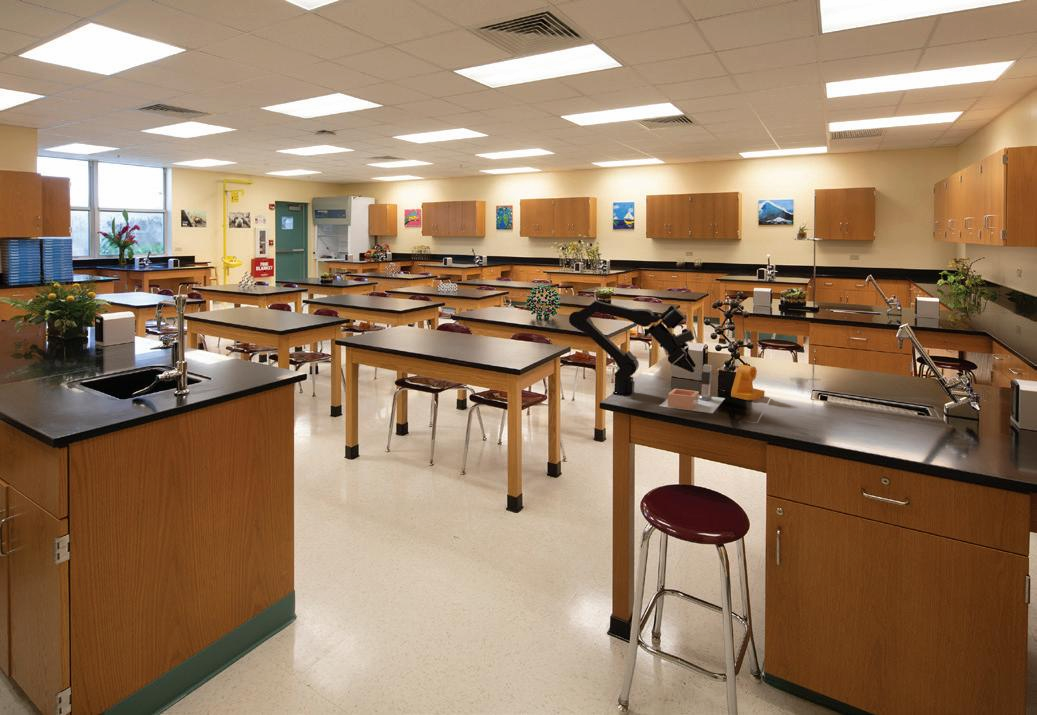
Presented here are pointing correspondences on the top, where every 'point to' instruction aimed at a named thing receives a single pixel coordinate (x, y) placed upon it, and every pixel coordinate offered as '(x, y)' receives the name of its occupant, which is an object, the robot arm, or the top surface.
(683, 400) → the holder
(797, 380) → the top surface
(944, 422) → the top surface
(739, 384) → the bracket
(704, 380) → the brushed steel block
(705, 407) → the bench mat
